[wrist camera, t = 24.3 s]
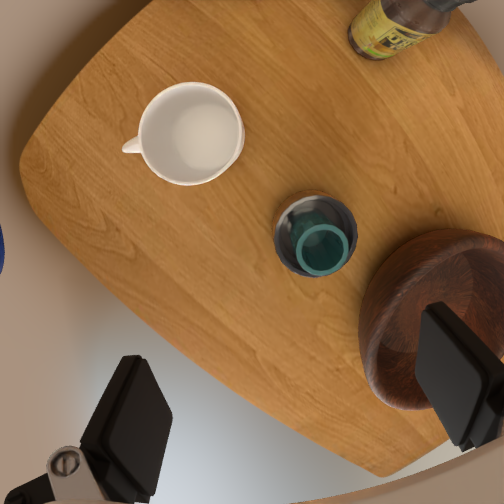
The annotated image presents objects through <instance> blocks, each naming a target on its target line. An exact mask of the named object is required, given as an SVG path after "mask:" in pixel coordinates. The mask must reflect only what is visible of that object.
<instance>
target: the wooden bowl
mask: <svg viewBox="0 0 504 504" xmlns="http://www.w3.org/2000/svg"><path fill="white" fill-rule="evenodd" d="M439 301H443V302H444V303H445V304H446V305H447V306H448V307H449V308H450V309H451V310H452V311H453V312H454V313H455V314H456V315H457V316H458V317H459V318H460V319H461V320H462V321H463V322H464V323H465V324H466V325H467V326H468V327H469V328H470V329H471V330H472V331H473V332H474V333H475V334H476V335H477V336H478V337H479V338H480V339H481V340H482V341H483V342H484V343H485V344H486V345H487V346H488V347H489V349H490V350H491V351H492V352H493V353H494V354H495V355H496V356H497V357H498V358H499V359H501V358H502V357H503V355H504V242H503V241H502V240H500V239H497V238H495V237H493V236H490V235H486V234H482V233H478V232H475V231H470V230H463V229H441V230H435V231H432V232H428V233H425V234H423V235H420V236H418V237H416V238H414V239H412V240H410V241H408V242H407V243H405V244H404V245H402V246H401V247H400V248H398V249H397V250H396V251H395V252H394V253H393V254H391V255H390V257H389V258H388V259H387V260H386V261H385V262H384V263H383V264H382V266H381V267H380V268H379V270H378V271H377V272H376V274H375V275H374V277H373V279H372V280H371V282H370V284H369V286H368V288H367V291H366V293H365V296H364V299H363V303H362V306H361V311H360V315H359V326H358V337H359V348H360V354H361V358H362V363H363V367H364V372H365V375H366V378H367V381H368V384H369V386H370V388H371V390H372V391H373V392H374V394H375V395H376V396H377V397H378V398H379V399H380V400H381V401H382V402H384V403H385V404H387V405H389V406H391V407H394V408H396V409H401V410H409V411H414V410H424V409H429V408H433V407H432V405H431V403H430V401H429V400H428V398H427V396H426V394H425V393H424V391H423V389H422V388H421V386H420V384H419V383H418V381H417V379H416V376H415V365H416V358H417V350H418V342H419V333H420V322H421V313H422V311H423V310H425V307H426V305H428V304H432V303H435V302H439Z"/></svg>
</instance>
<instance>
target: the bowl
mask: <svg viewBox="0 0 504 504" xmlns="http://www.w3.org/2000/svg"><path fill="white" fill-rule="evenodd" d="M307 207H312V208H316V209H319V210H320V211H322V212H323V213H324V214H326V215H327V216H328V217H329V218H330V219H331V220H332V221H333V222H334V223H335V224H336V225H337V226H338V227H339V228H340V230H341V231H342V232H343V233H344V235H345V236H346V238H347V240H348V247H349V252H348V255H347V258H346V261H345V262H344V263H343V265H342V266H341V267H340V268H342V267H343V266H344V265H345V264H346V263H347V262H348V260H349V259H350V257H351V256H352V254H353V252H354V250H355V247H356V243H357V238H358V233H357V224H356V221H355V219H354V217H353V215H352V213H351V211H350V210H349V209H348V208H347V207H346V206H345V205H344V204H343V203H342V202H341V201H339V200H337V199H336V198H335V197H333V196H331V195H329V194H327V193H325V192H323V191H318V190H305V191H300V192H297V193H295V194H293V195H291V196H289V197H288V198H287V199H286V200H285V201H284V202H283V203H282V204H281V205H280V206H279V207H278V209H277V211H276V213H275V215H274V217H273V223H272V234H273V240H274V245H275V249H276V253H277V254H278V256H279V258H280V260H281V262H282V263H283V264H284V265H285V266H286V267H287V268H288V269H289V270H291V271H292V272H294V273H296V274H299V275H301V276H304V277H313V278H315V277H316V278H317V277H322V276H327V275H330V274H327V275H322V276H319V275H314V274H310V273H309V272H307V271H306V270H304V269H303V268H302V267H301V265H300V264H299V262H298V260H297V258H296V255H295V252H294V250H293V247H292V244H291V242H290V239H289V235H288V231H287V227H288V222H289V220H290V218H291V216H292V215H293V214H294V213H295V212H297V211H298V210H300V209H302V208H307ZM340 268H339V269H340ZM339 269H338V270H339ZM336 271H337V270H336ZM336 271H334V272H336ZM334 272H333V273H334ZM331 274H332V273H331Z"/></svg>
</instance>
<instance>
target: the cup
mask: <svg viewBox="0 0 504 504" xmlns="http://www.w3.org/2000/svg"><path fill="white" fill-rule="evenodd" d="M287 231H288V235H289V239H290V242H291V244H292V247H293V250H294V252H295V255H296V258H297V260H298V262H299V264H300V265H301V267H302V268H303V269H304V270H306V271H307V272H309V273H310V274H314V275H319V276H322V275H327V274H331V273H333V272H334V271H336V270H338V269H339V268H340V267H341V266H342V265H343V263H344V262H345V261H346V258H347V255H348V252H349V247H348V240H347V238H346V236H345V235H344V233H343V232H342V231H341V230H340V228H339V227H338V226H337V225H336V224H335V223H334V222H333V221H332V220H331V219H330V218H329V217H328V216H327V215H326V214H324V213H323V212H322V211H320V210H319V209H316V208H312V207H307V208H302V209H300V210H298V211H297V212H295V213H294V214H293V215H292V216H291V218H290V220H289V222H288V227H287Z"/></svg>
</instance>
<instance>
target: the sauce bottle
mask: <svg viewBox="0 0 504 504" xmlns="http://www.w3.org/2000/svg"><path fill="white" fill-rule="evenodd" d="M474 1H476V0H372V1H371V2H370V3H369V4H368V5H367V6H366V7H365V8H364V9H363V10H362V11H361V12H360V13H359V14H358V15H357V16H356V17H355V18H354V20H353V22H352V23H351V25H350V26H349V28H348V36H349V41H350V43H351V45H352V46H353V48H354V49H355V50H356V51H357V52H358V53H359V54H361V55H362V56H364V57H365V58H369V59H374V60H383V59H385V58H389V57H392V56H394V55H395V54H397V53H399V52H401V51H403V50H405V49H407V48H409V47H411V46H413V45H415V44H417V43H419V42H421V41H423V40H425V39H427V38H429V37H431V36H433V35H435V34H437V33H439V32H441V30H442V29H443V28H445V26H446V25H447V24H448V23H449V20H450V16H451V11H453V10H454V9H456V7H458V6H460V5H462V4H464V3H471V2H474Z"/></svg>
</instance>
